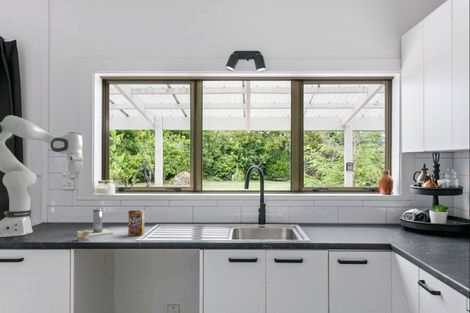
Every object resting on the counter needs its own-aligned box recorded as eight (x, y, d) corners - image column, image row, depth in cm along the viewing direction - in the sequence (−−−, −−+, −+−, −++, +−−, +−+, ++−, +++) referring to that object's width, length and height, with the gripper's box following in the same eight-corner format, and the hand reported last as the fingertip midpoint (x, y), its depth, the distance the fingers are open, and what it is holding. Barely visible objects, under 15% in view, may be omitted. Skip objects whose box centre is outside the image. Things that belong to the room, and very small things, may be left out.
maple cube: (79, 241, 184) (79, 232, 184) (76, 239, 188) (77, 231, 188) (88, 240, 187) (88, 231, 187) (86, 238, 191) (86, 230, 191)
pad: (89, 237, 195) (89, 235, 195) (82, 233, 206) (82, 231, 206) (113, 233, 204) (113, 232, 204) (105, 230, 215) (105, 228, 215)
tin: (94, 233, 201) (94, 210, 202) (91, 231, 205) (91, 209, 206) (103, 231, 205) (103, 209, 205) (100, 230, 209) (100, 208, 209)
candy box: (127, 235, 199) (128, 210, 200) (130, 234, 203) (130, 209, 204) (141, 236, 198) (142, 210, 199) (144, 234, 203) (144, 209, 203)
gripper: (65, 158, 212) (65, 179, 211) (73, 157, 196) (72, 181, 196) (75, 158, 216) (75, 179, 215) (84, 157, 200) (84, 180, 200)
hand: (74, 180), depth 205 cm, fingers open, 8 cm apart
